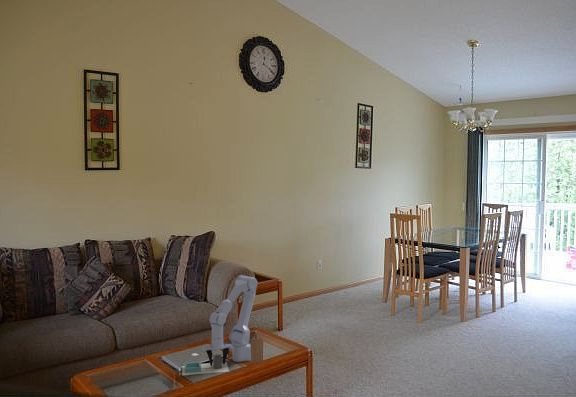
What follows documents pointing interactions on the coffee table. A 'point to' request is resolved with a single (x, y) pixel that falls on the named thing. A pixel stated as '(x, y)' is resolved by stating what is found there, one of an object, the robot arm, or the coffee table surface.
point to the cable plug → (217, 361)
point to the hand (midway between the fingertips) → (217, 364)
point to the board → (202, 368)
